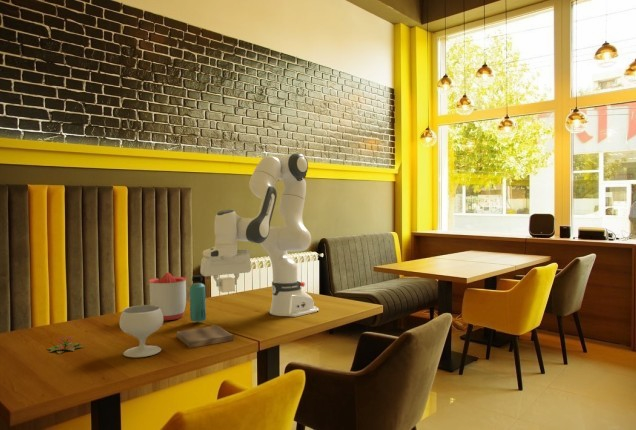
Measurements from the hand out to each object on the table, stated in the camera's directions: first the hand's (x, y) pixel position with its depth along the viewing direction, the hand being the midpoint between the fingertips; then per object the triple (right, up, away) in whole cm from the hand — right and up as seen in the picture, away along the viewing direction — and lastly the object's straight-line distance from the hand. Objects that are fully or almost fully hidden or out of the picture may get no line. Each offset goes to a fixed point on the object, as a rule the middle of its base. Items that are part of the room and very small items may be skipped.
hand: (226, 285), depth 192 cm
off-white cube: (0, -2, 0) cm, 2 cm away
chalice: (-23, -19, -29) cm, 41 cm away
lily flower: (-52, -19, -23) cm, 60 cm away
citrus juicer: (-29, -17, +19) cm, 39 cm away
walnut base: (-6, -18, -13) cm, 23 cm away
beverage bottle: (-14, -17, +9) cm, 24 cm away
